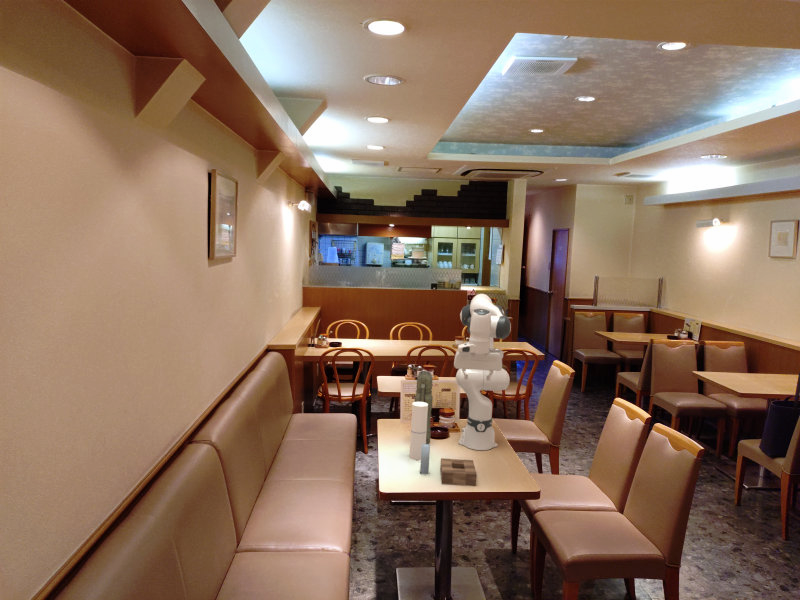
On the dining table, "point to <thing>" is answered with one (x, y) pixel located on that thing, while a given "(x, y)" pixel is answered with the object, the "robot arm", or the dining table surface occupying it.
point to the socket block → (458, 472)
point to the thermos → (425, 396)
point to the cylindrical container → (418, 429)
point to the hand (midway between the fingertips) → (476, 379)
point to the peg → (425, 459)
